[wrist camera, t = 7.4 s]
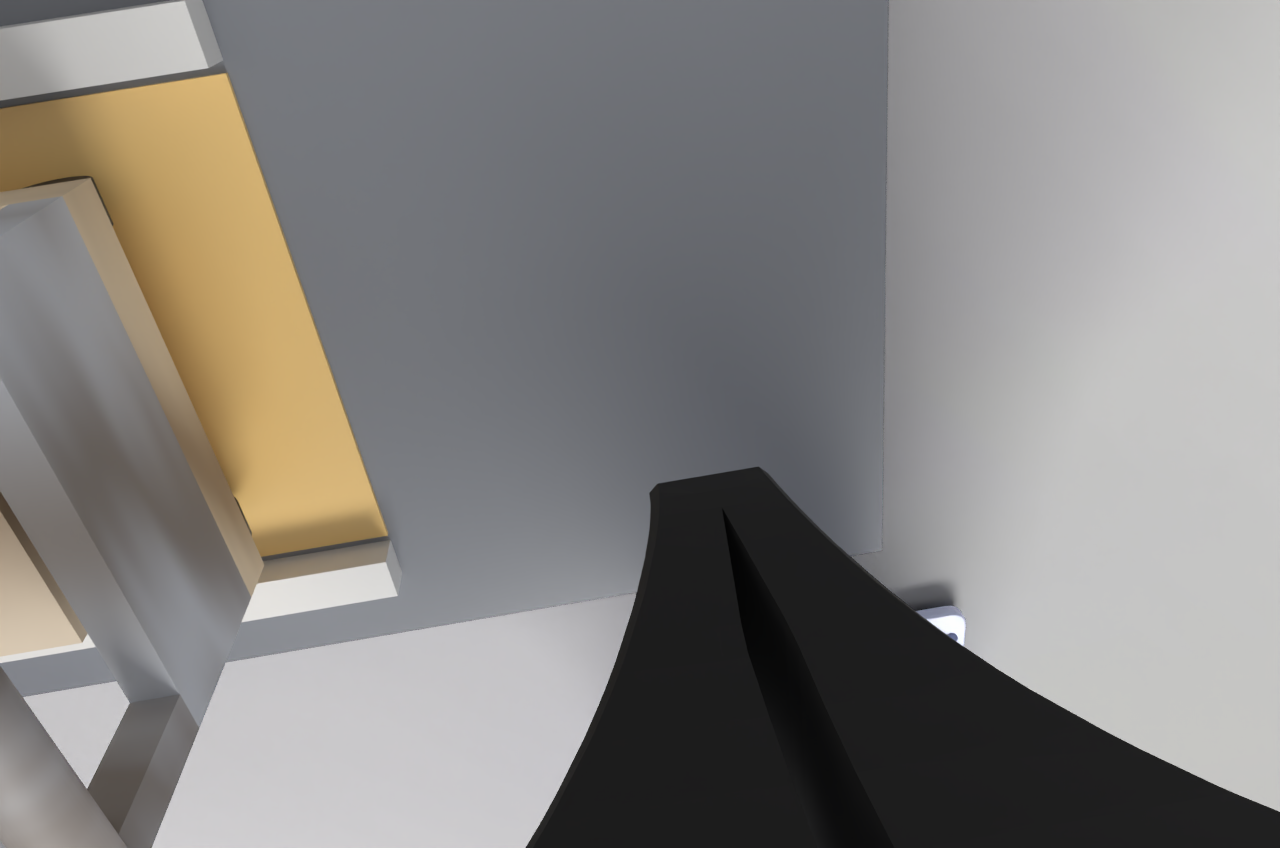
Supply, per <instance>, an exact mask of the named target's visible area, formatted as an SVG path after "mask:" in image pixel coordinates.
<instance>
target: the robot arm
mask: <svg viewBox="0 0 1280 848" xmlns="http://www.w3.org/2000/svg"><path fill="white" fill-rule="evenodd" d="M649 495H650V504H651V510H650V527H649V536H648V542H647V548H646V554H645V560H644V564H643V568H642V573H641V577H640V581H639V585H638V590H637V594H636V598H635V602H634V606H633V609H632V613H631V616H630V619H629V622H628V625H627V628H626V631H625V635H624V638H623V641H622V644H621V647H620V650H619V653H618V656H617V659H616V662H615V665H614V668H613V670H612V673H611V676H610V678H609V681H608V684H607V686H606V689H605V691H604V694H603V696H602V699H601V701H600V704H599V706H598V708H597V710H596V713H595V715H594V717H593V720H592V722H591V724H590V727H589V729H588V731H587V733H586V736H585V738H584V740H583V742H582V744H581V746H580V748H579V750H578V752H577V754H576V756H575V758H574V760H573V762H572V764H571V766H570V768H569V770H568V772H567V774H566V776H565V778H564V780H563V782H562V784H561V786H560V788H559V790H558V792H557V794H556V796H555V798H554V800H553V801H552V803H551V805H550V807H549V809H548V811H547V812H546V814H545V816H544V818H543V820H542V821H541V823H540V825H539V827H538V828H537V830H536V832H535V833H534V835H533V836H532V838H531V840H530V841H529V843H528V845H527V846H526V848H1280V812H1279V811H1276V810H1274V809H1271V808H1269V807H1266V806H1264V805H1261V804H1259V803H1257V802H1254V801H1252V800H1249V799H1247V798H1244V797H1242V796H1239V795H1237V794H1235V793H1232V792H1230V791H1228V790H1226V789H1223V788H1221V787H1219V786H1217V785H1214V784H1212V783H1210V782H1208V781H1206V780H1204V779H1202V778H1200V777H1197V776H1195V775H1193V774H1191V773H1189V772H1187V771H1185V770H1183V769H1181V768H1178V767H1176V766H1174V765H1172V764H1170V763H1168V762H1166V761H1164V760H1162V759H1159V758H1157V757H1155V756H1153V755H1151V754H1149V753H1147V752H1145V751H1143V750H1141V749H1139V748H1137V747H1135V746H1133V745H1131V744H1129V743H1127V742H1125V741H1123V740H1121V739H1119V738H1117V737H1115V736H1113V735H1111V734H1109V733H1107V732H1106V731H1104V730H1102V729H1100V728H1098V727H1097V726H1095V725H1093V724H1091V723H1089V722H1088V721H1086V720H1084V719H1082V718H1080V717H1079V716H1077V715H1075V714H1073V713H1071V712H1070V711H1068V710H1066V709H1064V708H1062V707H1061V706H1059V705H1057V704H1055V703H1053V702H1052V701H1050V700H1048V699H1046V698H1044V697H1043V696H1041V695H1039V694H1037V693H1035V692H1034V691H1032V690H1030V689H1028V688H1027V687H1025V686H1023V685H1022V684H1020V683H1019V682H1017V681H1015V680H1014V679H1012V678H1011V677H1009V676H1007V675H1006V674H1004V673H1003V672H1001V671H999V670H998V669H996V668H995V667H993V666H992V665H990V664H989V663H987V662H986V661H984V660H983V659H981V658H980V657H978V656H977V655H975V654H974V653H972V652H971V651H969V650H968V649H966V648H965V647H964V643H965V630H966V620H965V617H964V616H963V614H962V612H961V611H960V610H959V609H958V608H957V607H954V606H942V607H936V608H930V609H924V610H919V611H915V610H913V609H912V608H911V607H910V606H908V605H907V604H906V603H905V602H903V601H902V600H901V599H900V598H898V597H897V596H896V595H895V594H893V593H892V592H891V591H890V590H888V589H887V588H886V587H885V586H884V585H882V584H881V583H880V582H879V581H878V580H876V579H875V578H874V577H873V576H872V575H871V574H869V573H868V572H867V571H866V570H865V569H864V568H863V567H862V566H860V565H859V564H858V563H857V562H856V561H855V560H854V559H853V558H852V557H850V556H849V555H848V554H847V553H846V552H845V551H844V550H843V549H842V548H841V547H839V546H838V545H837V544H836V543H835V542H834V541H833V540H832V539H831V538H830V537H829V536H828V535H827V534H826V533H824V532H823V531H822V530H821V529H820V528H819V527H818V526H817V525H816V524H815V523H814V522H813V521H812V520H811V519H810V518H809V517H808V516H807V515H806V514H805V513H804V512H803V511H802V510H801V509H800V508H799V507H798V505H797V504H796V503H795V502H794V501H793V500H792V499H791V498H790V497H789V496H788V495H787V494H786V493H785V492H784V491H783V489H782V488H781V487H780V486H779V485H778V484H777V483H776V482H775V481H774V479H773V478H772V477H771V476H770V475H769V474H768V473H767V472H766V471H764V470H763V469H762V468H760V467H753V468H747V469H741V470H735V471H729V472H723V473H717V474H711V475H705V476H699V477H693V478H687V479H681V480H675V481H669V482H663V483H658V484H657V485H656V486H655V487H654V488H653V489H652V490H651V492H650V493H649ZM948 633H949V634H948ZM947 634H948V635H947Z"/></svg>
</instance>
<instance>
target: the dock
mask: <svg viewBox="0 0 1280 848" xmlns="http://www.w3.org/2000/svg"><path fill="white" fill-rule="evenodd" d="M888 4H889V0H0V192H5V191H11V190H17V189H22V188H25V187H28V186H31V185H35V184H38V183H42V182H46V181H51V180H55V179H60V178H66V177H73V176H91V177H93V179H94V181H95V183H96V186H97V188H98V190H99V192H100V195H101V197H102V199H103V201H104V204H105V206H106V208H107V210H108V212H109V215H110V217H111V219H112V221H113V226H112V227H113V229H114V231H115V233H116V236H117V238H118V240H119V242H120V244H121V247H122V249H123V251H124V253H125V256H126V258H127V260H128V262H129V264H130V267H131V269H132V271H133V273H134V276H135V278H136V280H137V282H138V284H139V287H140V289H141V291H142V293H143V296H144V298H145V300H146V302H147V305H148V307H149V309H150V311H151V313H152V316H153V318H154V320H155V322H156V325H157V327H158V329H159V331H160V333H161V336H162V338H163V340H164V342H165V345H166V347H167V349H168V351H169V353H170V356H171V358H172V360H173V362H174V365H175V367H176V369H177V371H178V373H179V376H180V378H181V380H182V382H183V385H184V387H185V389H186V391H187V393H188V396H189V398H190V400H191V402H192V405H193V407H194V409H195V411H196V413H197V416H198V418H199V420H200V422H201V425H202V427H203V429H204V431H205V433H206V436H207V438H208V440H209V442H210V445H211V447H212V449H213V451H214V453H215V456H216V458H217V460H218V462H219V465H220V467H221V469H222V471H223V474H224V476H225V478H226V480H227V482H228V485H229V487H230V489H231V491H232V494H233V496H234V497H235V498H236V499H237V500H238V502H239V505H240V507H241V509H242V511H243V514H244V516H245V518H246V520H247V523H248V525H249V527H250V529H251V532H252V538H253V540H254V542H255V545H256V547H257V549H258V551H259V554H260V556H261V558H262V560H263V562H264V567H263V570H262V572H261V575H260V577H259V580H258V582H257V585H256V587H255V590H254V592H253V595H252V597H251V600H250V602H249V605H248V607H247V610H246V612H245V615H244V617H243V620H242V622H241V625H240V627H239V630H238V632H237V635H236V637H235V640H234V642H233V645H232V647H231V650H230V652H229V655H228V657H227V660H226V662H231V661H237V660H243V659H249V658H255V657H261V656H266V655H272V654H278V653H284V652H290V651H296V650H302V649H308V648H313V647H319V646H325V645H331V644H337V643H343V642H349V641H355V640H361V639H366V638H372V637H378V636H384V635H390V634H396V633H402V632H408V631H413V630H419V629H425V628H431V627H437V626H443V625H449V624H455V623H460V622H466V621H472V620H478V619H484V618H490V617H496V616H502V615H507V614H513V613H519V612H525V611H531V610H537V609H543V608H549V607H555V606H560V605H566V604H572V603H578V602H584V601H590V600H596V599H602V598H607V597H613V596H619V595H625V594H631V593H637V590H638V585H639V581H640V577H641V573H642V568H643V564H644V560H645V554H646V548H647V542H648V536H649V527H650V510H651V504H650V495H649V493H650V492H651V490H652V489H653V488H654V487H655V486H656V485H657V484H658V483H663V482H669V481H675V480H681V479H687V478H693V477H699V476H705V475H711V474H717V473H723V472H729V471H735V470H741V469H747V468H753V467H760V468H762V469H763V470H764V471H766V472H767V473H768V474H769V475H770V476H771V477H772V478H773V479H774V481H775V482H776V483H777V484H778V485H779V486H780V487H781V488H782V489H783V491H784V492H785V493H786V494H787V495H788V496H789V497H790V498H791V499H792V500H793V501H794V502H795V503H796V504H797V505H798V507H799V508H800V509H801V510H802V511H803V512H804V513H805V514H806V515H807V516H808V517H809V518H810V519H811V520H812V521H813V522H814V523H815V524H816V525H817V526H818V527H819V528H820V529H821V530H822V531H823V532H824V533H826V534H827V535H828V536H829V537H830V538H831V539H832V540H833V541H834V542H835V543H836V544H837V545H838V546H839V547H841V548H842V549H843V550H844V551H845V552H846V553H847V554H848V555H849V556H854V555H860V554H866V553H872V552H878V551H882V515H883V430H884V345H885V260H886V175H887V89H888ZM0 666H1V667H2V669H3V670H4V672H5V673H6V674H7V676H8V677H9V679H10V680H11V682H12V683H13V684H14V686H15V687H16V689H17V690H18V692H19V693H20V694H21V696H22V697H25V696H31V695H37V694H43V693H49V692H55V691H61V690H67V689H72V688H78V687H84V686H90V685H96V684H102V683H108V682H114V681H116V679H115V677H114V676H113V674H112V672H111V671H110V669H109V668H108V666H107V664H106V663H105V661H104V659H103V658H102V656H101V655H100V653H99V651H98V650H97V648H96V646H95V645H94V643H93V642H92V640H91V638H90V637H89V635H88V634H87V636H86V637H85V639H84V641H83V642H82V643H78V644H72V645H66V646H60V647H54V648H48V649H43V650H37V651H31V652H25V653H19V654H13V655H7V656H1V657H0Z"/></svg>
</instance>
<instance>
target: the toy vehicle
mask: <svg viewBox="0 0 1280 848" xmlns="http://www.w3.org/2000/svg"><path fill="white" fill-rule="evenodd" d="M112 226H113V221H112V219H111V217H110V215H109V212H108V210H107V208H106V206H105V204H104V201H103V199H102V197H101V195H100V192H99V190H98V188H97V186H96V183H95V181H94V179H93V177H91V176H73V177H66V178H60V179H55V180H51V181H46V182H42V183H38V184H35V185H31V186H28V187H25V188H22V189H17V190H11V191H5V192H0V657H1V656H7V655H13V654H19V653H25V652H31V651H37V650H43V649H48V648H54V647H60V646H66V645H72V644H78V643H82V642H83V641H84V639H85V637H86V636H87V634H88V635H89V637H90V638H91V640H92V642H93V643H94V645H95V646H96V648H97V650H98V651H99V653H100V655H101V656H102V658H103V659H104V661H105V663H106V664H107V666H108V668H109V669H110V671H111V672H112V674H113V676H114V677H115V679H116V681H117V682H118V684H119V686H120V687H121V689H122V690H123V692H124V694H125V695H126V697H127V699H128V700H129V702H130V704H129V706H128V708H127V710H126V712H125V714H124V716H123V718H122V720H121V722H120V724H119V726H118V728H117V730H116V732H115V734H114V736H113V738H112V740H111V742H110V744H109V746H108V748H107V750H106V752H105V754H104V757H103V759H102V761H101V763H100V765H99V767H98V769H97V771H96V773H95V775H94V777H93V779H92V781H91V783H90V785H89V787H88V789H86V787H85V786H84V784H83V783H82V782H81V780H80V779H79V777H78V776H77V774H76V773H75V772H74V770H73V769H72V767H71V766H70V764H69V763H68V762H67V760H66V759H65V757H64V756H63V754H62V753H61V752H60V750H59V749H58V747H57V746H56V744H55V743H54V742H53V740H52V739H51V737H50V736H49V734H48V733H47V732H46V730H45V729H44V727H43V726H42V724H41V723H40V722H39V720H38V719H37V717H36V716H35V714H34V713H33V712H32V710H31V709H30V707H29V706H28V704H27V703H26V702H25V700H24V699H23V697H22V696H21V694H20V693H19V692H18V690H17V689H16V687H15V686H14V684H13V683H12V682H11V680H10V679H9V677H8V676H7V674H6V673H5V672H4V670H3V669H2V667H1V666H0V841H1V842H2V843H3V845H4V846H5V847H6V848H152V845H153V843H154V840H155V838H156V835H157V833H158V830H159V828H160V825H161V823H162V820H163V818H164V815H165V813H166V810H167V808H168V805H169V803H170V800H171V798H172V795H173V793H174V790H175V788H176V785H177V783H178V780H179V778H180V775H181V773H182V770H183V768H184V765H185V763H186V760H187V758H188V755H189V752H190V750H191V747H192V745H193V742H194V740H195V737H196V735H197V732H198V730H199V727H200V725H201V722H202V720H203V717H204V715H205V712H206V710H207V707H208V705H209V702H210V700H211V697H212V695H213V692H214V690H215V687H216V685H217V682H218V680H219V677H220V675H221V672H222V670H223V667H224V665H225V662H226V660H227V657H228V655H229V652H230V650H231V647H232V645H233V642H234V640H235V637H236V635H237V632H238V630H239V627H240V625H241V622H242V620H243V617H244V615H245V612H246V610H247V607H248V605H249V602H250V600H251V597H252V595H253V592H254V590H255V587H256V585H257V582H258V580H259V577H260V575H261V572H262V570H263V567H264V562H263V560H262V558H261V556H260V554H259V551H258V549H257V547H256V545H255V542H254V540H253V538H252V532H251V529H250V527H249V525H248V523H247V520H246V518H245V516H244V514H243V511H242V509H241V507H240V505H239V502H238V500H237V499H236V498H235V497H234V496H233V494H232V491H231V489H230V487H229V485H228V482H227V480H226V478H225V476H224V474H223V471H222V469H221V467H220V465H219V462H218V460H217V458H216V456H215V453H214V451H213V449H212V447H211V445H210V442H209V440H208V438H207V436H206V433H205V431H204V429H203V427H202V425H201V422H200V420H199V418H198V416H197V413H196V411H195V409H194V407H193V405H192V402H191V400H190V398H189V396H188V393H187V391H186V389H185V387H184V385H183V382H182V380H181V378H180V376H179V373H178V371H177V369H176V367H175V365H174V362H173V360H172V358H171V356H170V353H169V351H168V349H167V347H166V345H165V342H164V340H163V338H162V336H161V333H160V331H159V329H158V327H157V325H156V322H155V320H154V318H153V316H152V313H151V311H150V309H149V307H148V305H147V302H146V300H145V298H144V296H143V293H142V291H141V289H140V287H139V284H138V282H137V280H136V278H135V276H134V273H133V271H132V269H131V267H130V264H129V262H128V260H127V258H126V256H125V253H124V251H123V249H122V247H121V244H120V242H119V240H118V238H117V236H116V233H115V231H114V229H113V227H112Z"/></svg>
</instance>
